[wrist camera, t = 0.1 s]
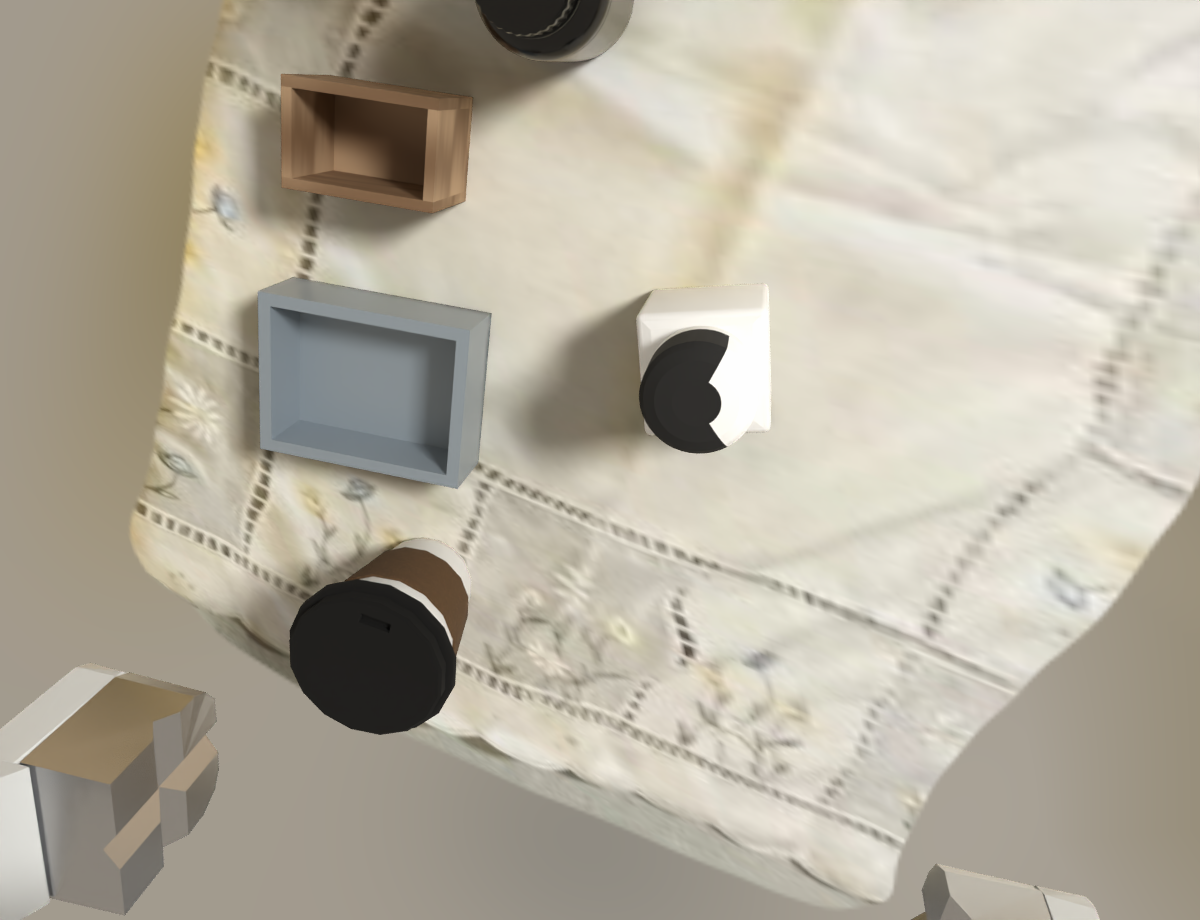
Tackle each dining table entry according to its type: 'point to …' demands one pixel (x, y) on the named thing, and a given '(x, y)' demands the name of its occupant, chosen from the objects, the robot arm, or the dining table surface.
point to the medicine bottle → (705, 365)
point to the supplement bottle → (556, 26)
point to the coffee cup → (385, 638)
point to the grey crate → (372, 380)
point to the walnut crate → (374, 141)
